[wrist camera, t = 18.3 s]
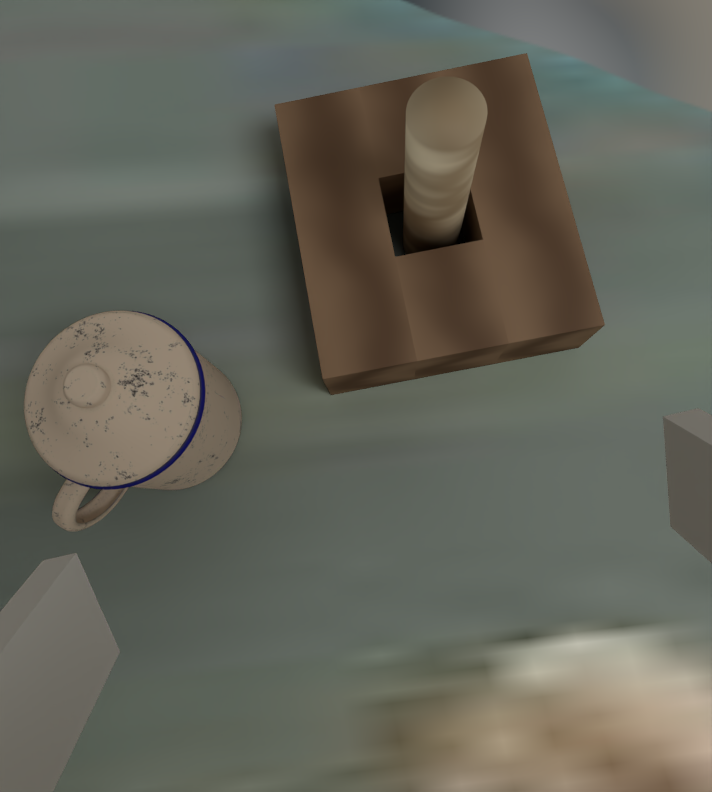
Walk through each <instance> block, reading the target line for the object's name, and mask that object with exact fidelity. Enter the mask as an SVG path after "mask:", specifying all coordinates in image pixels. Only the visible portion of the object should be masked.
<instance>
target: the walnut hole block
mask: <svg viewBox="0 0 712 792" xmlns="http://www.w3.org/2000/svg"><path fill="white" fill-rule="evenodd" d="M438 77H457V78H461V79H464V80H466V81H468V82H470V83H472V84H473V85H474V86H476V87H477V88H478V89H479V90H480V92H481V93H482V95H483V96H484V98H485V101H486V104H487V113H488V114H487V120H486V124H485V129H484V133H483V137H482V141H481V146H480V150H479V154H478V159H477V163H476V167H475V171H474V176H473V180H472V184H471V188H470V193H469V197H468V201H467V205H466V210H465V214H464V218H463V223H462V231H463V235H464V239H465V243H463V244H458V245H453V246H448V247H443V248H437V249H432V250H427V251H422V252H417V253H412V254H407V255H402V256H397V257H395V254H394V249H393V245H392V240H391V235H390V230H389V226H388V221H387V216H386V215H387V214H392V213H397V212H402V211H404V175H405V130H406V107H407V103H408V101H409V99H410V97H411V95H412V94H413V92H414V91H415V90H416V89H417V88H418V87H419V86H421V85H422V84H423V83H425V82H427V81H429V80H431V79H434V78H438ZM275 110H276V115H277V121H278V127H279V133H280V138H281V144H282V150H283V155H284V161H285V167H286V173H287V178H288V184H289V190H290V195H291V201H292V207H293V213H294V218H295V224H296V230H297V235H298V241H299V247H300V252H301V258H302V264H303V270H304V275H305V281H306V287H307V292H308V298H309V304H310V310H311V315H312V321H313V327H314V332H315V338H316V344H317V349H318V355H319V361H320V367H321V372H322V378H323V381H324V383H325V385H326V386H327V388H328V390H329V392H330V394H331V395H334V394H339V393H344V392H349V391H355V390H360V389H365V388H370V387H376V386H381V385H386V384H391V383H396V382H402V381H407V380H412V379H417V378H422V377H428V376H433V375H438V374H443V373H449V372H454V371H459V370H464V369H469V368H475V367H480V366H485V365H490V364H496V363H501V362H506V361H511V360H516V359H522V358H527V357H532V356H537V355H542V354H548V353H553V352H558V351H563V350H569V349H574V348H579V347H580V346H581V345H582V344H583V343H585V342H586V341H587V340H588V339H589V338H590V337H591V336H593V335H594V334H595V333H596V332H597V331H598V330H600V329H601V328H602V327H603V326H604V325H605V324H604V320H603V317H602V313H601V310H600V306H599V303H598V299H597V296H596V292H595V289H594V286H593V282H592V279H591V275H590V272H589V268H588V265H587V261H586V258H585V254H584V251H583V247H582V244H581V240H580V237H579V233H578V230H577V226H576V223H575V219H574V216H573V212H572V209H571V205H570V202H569V198H568V195H567V191H566V188H565V184H564V181H563V177H562V174H561V171H560V167H559V164H558V160H557V157H556V153H555V150H554V146H553V143H552V139H551V136H550V132H549V129H548V125H547V122H546V118H545V115H544V111H543V108H542V104H541V101H540V97H539V94H538V90H537V87H536V83H535V80H534V76H533V73H532V69H531V66H530V62H529V59H528V56H527V53H526V54H521V55H516V56H511V57H506V58H501V59H496V60H491V61H487V62H482V63H477V64H472V65H467V66H462V67H457V68H452V69H447V70H442V71H438V72H433V73H428V74H423V75H418V76H413V77H408V78H403V79H398V80H393V81H389V82H384V83H379V84H374V85H369V86H364V87H359V88H354V89H349V90H344V91H340V92H335V93H330V94H325V95H320V96H315V97H310V98H305V99H300V100H295V101H291V102H286V103H281V104H276V105H275Z"/></svg>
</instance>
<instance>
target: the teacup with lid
mask: <svg viewBox="0 0 712 792" xmlns="http://www.w3.org/2000/svg"><path fill="white" fill-rule="evenodd" d="M24 414H25V421H26V426H27V430H28V433H29V436H30V438H31V441H32V443H33V445H34V447H35V449H36V450H37V452H38V453H39V455H40V456H41V457H42V459H43V460H44V461H45V462H46V463H47V464H48V465H49V466H50V467H51V468H52V469H53V470H55V471H56V472H57V473H58V474H60V475H61V476H62V477H64V478H66V481H65V482H64V484H63V486H62V487H61V489H60V491H59V492H58V494H57V496H56V499H55V501H54V504H53V509H52V517H53V520H54V522H55V523H56V524H57V525H58V526H60V527H61V528H63V529H65V530H67V531H80V530H83V529H86V528H88V527H90V526H92V525H93V524H95V523H97V522H98V521H99V520H101V519H102V518H103V517H105V516H106V515H107V514H108V513H109V512H110V511H111V510H112V509H113V508H114V507H115V506H116V504H117V503H118V502H119V501H120V499H121V498H122V496H123V495H124V494H125V492H126V491H127V489H128V488H129V487H138V488H149V489H161V490H179V489H185V488H189V487H192V486H195V485H197V484H200V483H202V482H204V481H205V480H207V479H209V478H210V477H211V476H213V475H214V474H215V473H217V472H218V471H219V470H220V469H221V468H222V467H223V466H224V464H225V463H226V462H227V461H228V459H229V458H230V456H231V455H232V453H233V451H234V449H235V447H236V445H237V442H238V439H239V436H240V431H241V424H242V414H241V406H240V402H239V398H238V396H237V393H236V391H235V389H234V387H233V385H232V384H231V382H230V381H229V380H228V378H227V377H226V376H225V375H224V374H223V373H222V372H221V371H220V370H219V369H217V368H216V367H215V366H214V365H212V364H211V363H210V362H209V361H207V360H206V359H205V358H204V357H203V356H201V355H200V354H199V353H198V352H196V351H195V350H194V349H193V347H192V346H191V344H190V343H189V341H188V340H187V339H186V338H185V337H184V336H183V335H182V334H181V333H180V332H179V331H178V330H177V329H176V328H174V327H173V326H172V325H170V324H169V323H167V322H165V321H164V320H162V319H160V318H157V317H155V316H152V315H149V314H146V313H142V312H135V311H108V312H102V313H98V314H94V315H91V316H88V317H86V318H84V319H81V320H79V321H77V322H75V323H74V324H72V325H70V326H69V327H67V328H66V329H64V330H63V331H62V332H60V333H59V334H58V335H57V336H56V337H55V338H54V339H52V340H51V341H50V343H49V344H48V345H47V346H46V347H45V348H44V350H43V351H42V353H41V354H40V355H39V357H38V359H37V360H36V362H35V364H34V366H33V368H32V370H31V373H30V375H29V378H28V382H27V385H26V390H25V398H24ZM90 488H94V489H101V490H100V492H99V493H98V494H97V495H96V496H95V497H94V498H93V499H92V500H91V501H90V502H88V503H87V504H86V505H84V506H83V507H81V508H79V505H80V503H81V502H82V500H83V498H84V497H85V495H86V493H87V492H88V490H89V489H90ZM78 508H79V509H78Z"/></svg>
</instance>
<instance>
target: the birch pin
mask: <svg viewBox="0 0 712 792" xmlns="http://www.w3.org/2000/svg"><path fill="white" fill-rule="evenodd" d="M487 114H488V113H487V104H486V101H485V98H484V96H483V95H482V93H481V92H480V90H479V89H478V88H477V87H476V86H474V85H473V84H472V83H470V82H468V81H466V80H464V79H461V78H457V77H438V78H434V79H431V80H429V81H427V82H425V83H423V84H422V85H421V86H419V87H418V88H417V89H416V90H415V91H414V92H413V94H412V95H411V97H410V99H409V101H408V103H407V107H406V130H405V175H404V220H403V248H404V251H405V254H406V255H407V254H412V253H417V252H422V251H427V250H432V249H437V248H443V247H448V246H453V245H457V244H458V240H459V235H460V231H461V227H462V223H463V218H464V214H465V210H466V205H467V201H468V197H469V193H470V188H471V184H472V180H473V176H474V171H475V167H476V163H477V159H478V154H479V150H480V146H481V141H482V137H483V133H484V129H485V124H486V120H487Z"/></svg>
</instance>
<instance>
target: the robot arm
mask: <svg viewBox="0 0 712 792" xmlns="http://www.w3.org/2000/svg"><path fill="white" fill-rule="evenodd" d="M663 423H664V438H665V452H666V467H667V481H668V496H669V511H670V525H671V527H672V528H673V529H674V530H675V531H676V532H677V533H678V534H680V535H681V536H682V537H683V538H684V539H685V540H686V541H687V542H689V543H690V544H691V545H692V546H693V547H694V548H695V549H696V550H697V551H699V552H700V553H701V554H702V555H703V556H704V557H705V558H706V559H707V560H709V561H710V562H711V563H712V415H710V414H708V413H706V412H704V411H702V410H700V409H693V410H689V411H685V412H680V413H676V414H672V415H667V416H663ZM119 653H120V650H119V648H118V646H117V644H116V641H115V639H114V637H113V635H112V632H111V630H110V628H109V626H108V623H107V621H106V619H105V617H104V614H103V612H102V610H101V608H100V605H99V603H98V601H97V598H96V596H95V594H94V592H93V589H92V587H91V585H90V583H89V580H88V578H87V576H86V574H85V571H84V569H83V567H82V565H81V562H80V560H79V558H78V556H77V553H73V554H68V555H64V556H60V557H55V558H51V559H47V560H43V561H42V562H41V563H40V564H39V566H38V567H37V568H36V569H35V570H34V572H33V573H32V574H31V575H30V576H29V578H28V579H27V580H26V581H25V582H24V584H23V585H22V586H21V587H20V588H19V590H18V591H17V592H16V593H15V594H14V596H13V597H12V598H11V599H10V600H9V602H8V603H7V604H6V605H5V606H4V608H3V609H2V610H1V611H0V792H53V791H54V789H55V787H56V784H57V782H58V780H59V778H60V776H61V774H62V772H63V770H64V768H65V766H66V764H67V761H68V759H69V757H70V755H71V753H72V751H73V749H74V747H75V745H76V743H77V741H78V738H79V736H80V734H81V732H82V730H83V728H84V726H85V724H86V722H87V720H88V718H89V715H90V713H91V711H92V709H93V707H94V705H95V703H96V701H97V699H98V697H99V695H100V693H101V690H102V688H103V686H104V684H105V682H106V680H107V678H108V676H109V674H110V672H111V670H112V667H113V665H114V663H115V661H116V659H117V657H118V655H119Z"/></svg>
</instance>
